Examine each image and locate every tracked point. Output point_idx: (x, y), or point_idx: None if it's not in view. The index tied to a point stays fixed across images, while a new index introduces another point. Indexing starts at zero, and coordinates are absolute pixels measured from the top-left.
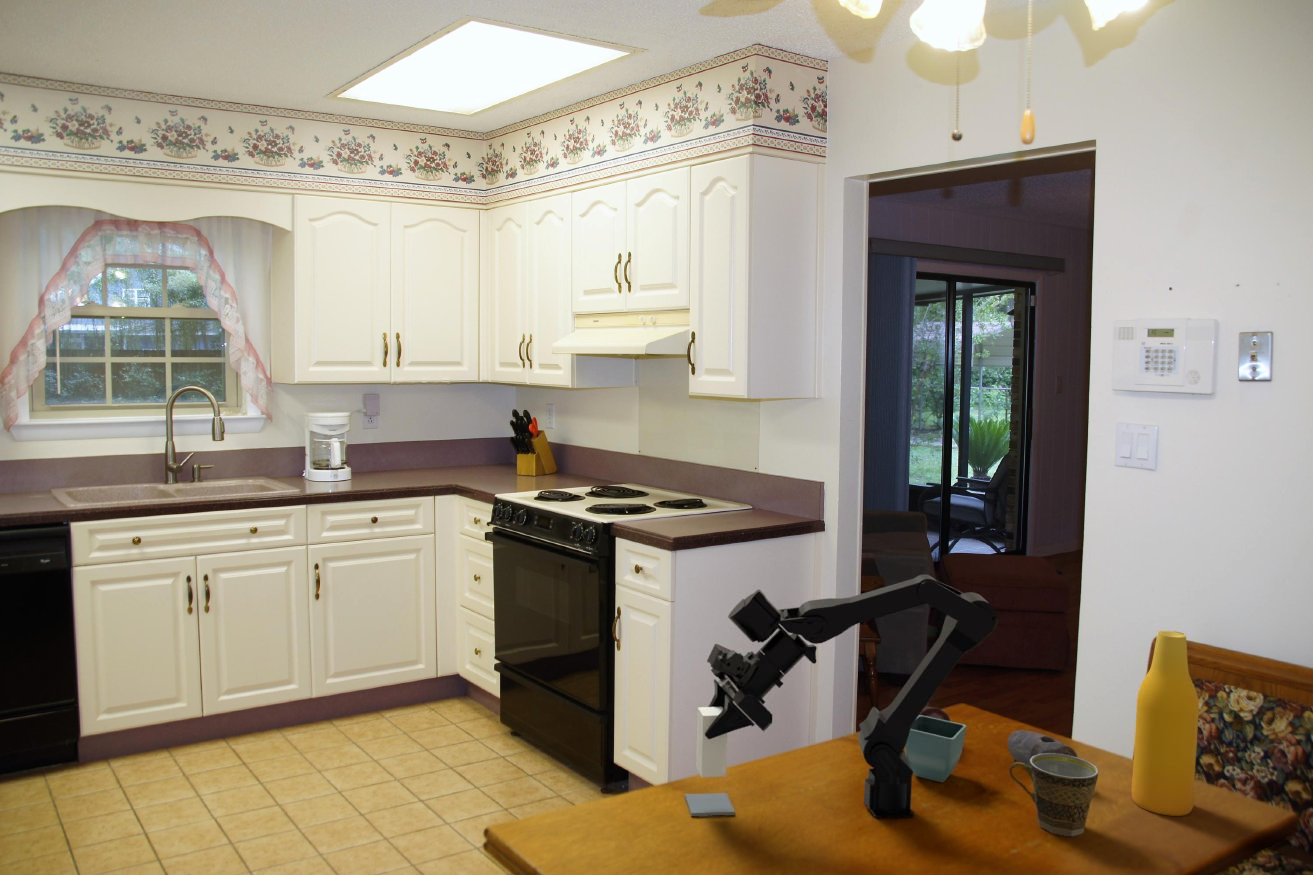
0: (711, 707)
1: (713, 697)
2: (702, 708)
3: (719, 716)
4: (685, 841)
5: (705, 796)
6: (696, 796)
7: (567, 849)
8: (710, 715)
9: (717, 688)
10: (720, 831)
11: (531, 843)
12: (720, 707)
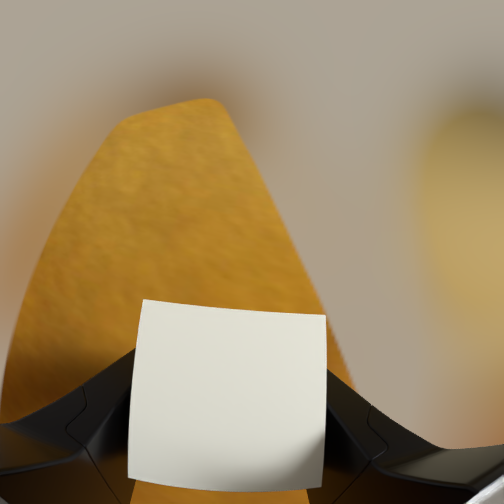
0: (313, 414)
1: (415, 439)
2: (300, 343)
3: (85, 400)
4: (91, 293)
5: None
6: None
7: (138, 142)
8: (137, 354)
9: (432, 485)
10: None
11: (169, 117)
12: (302, 477)
